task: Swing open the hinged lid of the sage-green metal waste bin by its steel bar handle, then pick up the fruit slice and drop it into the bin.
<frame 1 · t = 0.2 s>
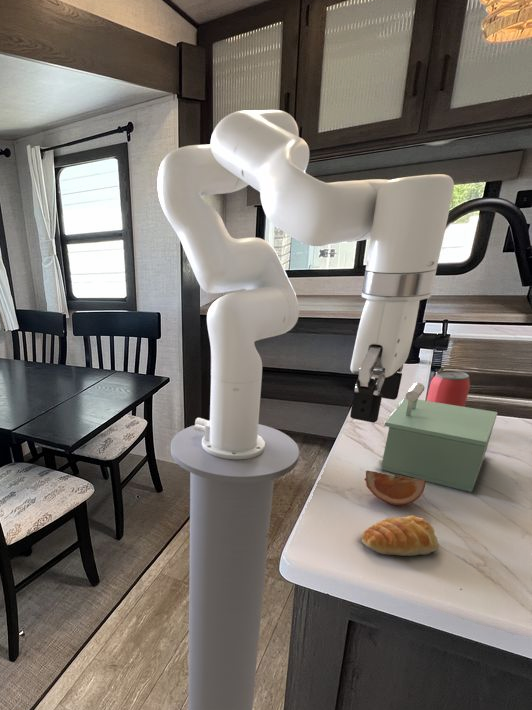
hand: (374, 408, 66), 20 cm above the counter, tool pointing down, fingers open, 9 cm apart
bin: (432, 464, 88), on the counter
beer can: (439, 427, 102), on the counter
pastry: (399, 545, 69), on the counter
fruit slice: (389, 500, 80), on the counter
bin lid: (443, 406, 84), point 12 cm above the counter, hinge at 0.0°
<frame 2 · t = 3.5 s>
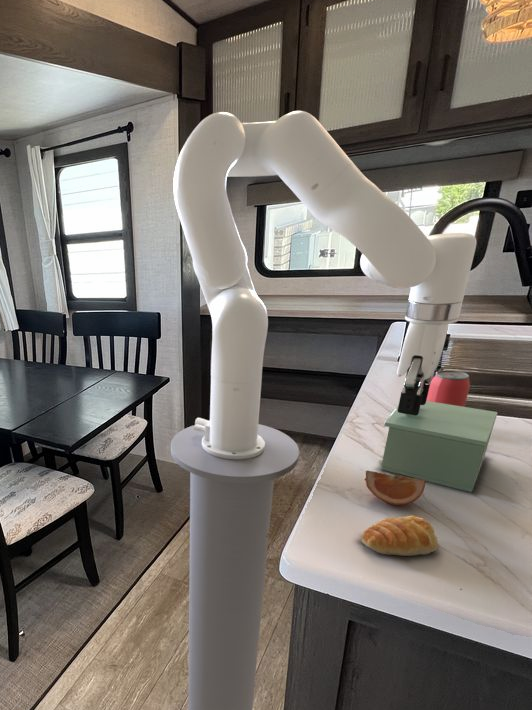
hand: (411, 407, 87), 11 cm above the counter, tool pointing down, fingers closed on bin lid, 5 cm apart
bin lid: (443, 406, 84), point 12 cm above the counter, hinge at 0.0°, touching gripper
everything else where it was.
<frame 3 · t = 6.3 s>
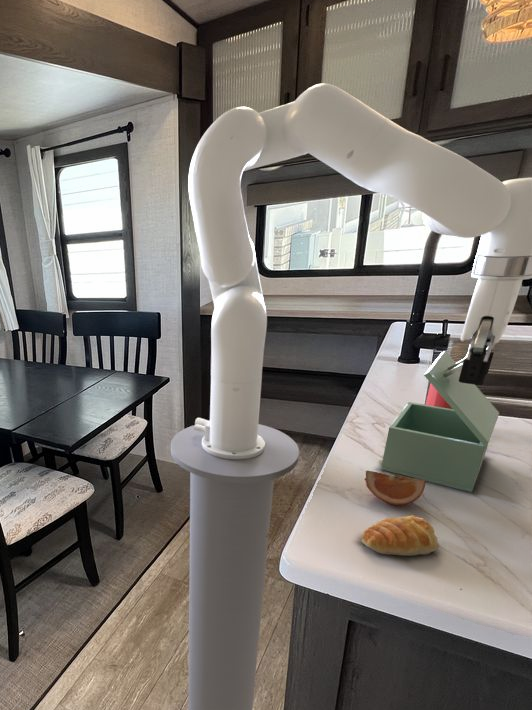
hand: (473, 377, 79), 18 cm above the counter, tool pointing down, fingers closed on bin lid, 5 cm apart
bin lid: (478, 387, 79), point 16 cm above the counter, hinge at 46.3°, touching gripper
everything else where it was.
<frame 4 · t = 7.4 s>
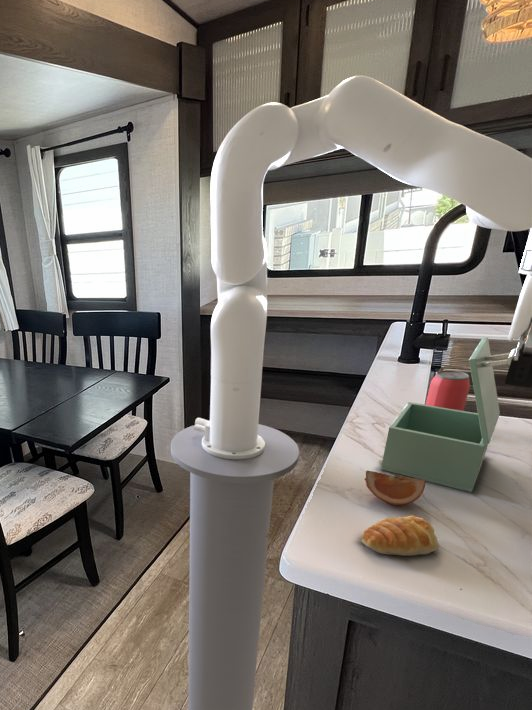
hand: (519, 378, 75), 18 cm above the counter, tool pointing down, fingers closed on bin lid, 5 cm apart
bin lid: (505, 386, 77), point 17 cm above the counter, hinge at 71.7°, touching gripper
everything else where it was.
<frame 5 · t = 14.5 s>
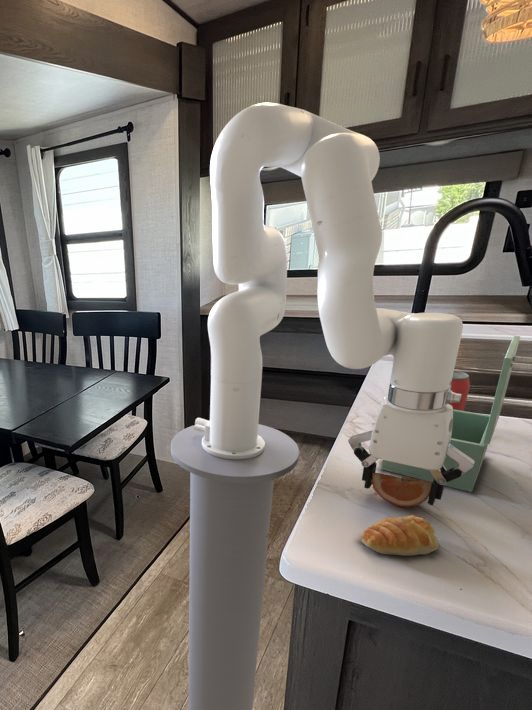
hand: (399, 492, 78), 2 cm above the counter, tool pointing down, fingers closed on fruit slice, 8 cm apart
fruit slice: (396, 501, 79), on the counter, touching gripper
bin lid: (522, 391, 76), point 17 cm above the counter, hinge at 88.3°
everything else where it was.
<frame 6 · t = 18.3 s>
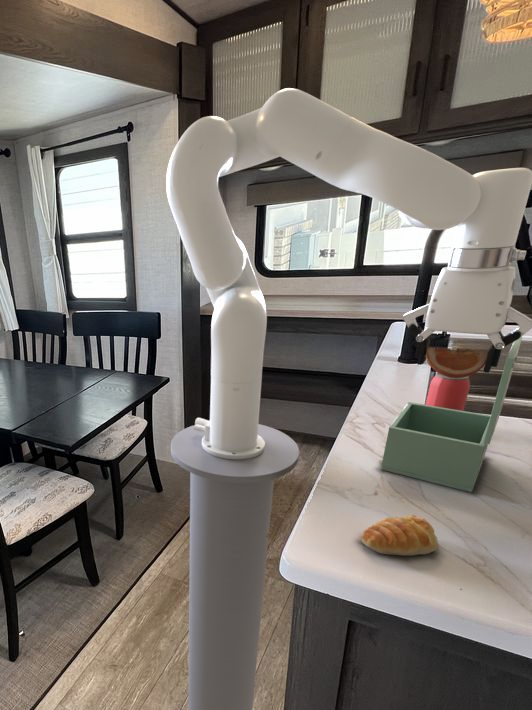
hand: (453, 366, 79), 20 cm above the counter, tool pointing down, fingers closed on fruit slice, 8 cm apart
fruit slice: (449, 376, 80), point 18 cm above the counter, touching gripper
bin lid: (523, 391, 76), point 16 cm above the counter, hinge at 89.4°
everything else where it was.
when the fingers open (13 cm above the counter, at t = 28.4 s): fruit slice drops 10 cm, resting on bin.
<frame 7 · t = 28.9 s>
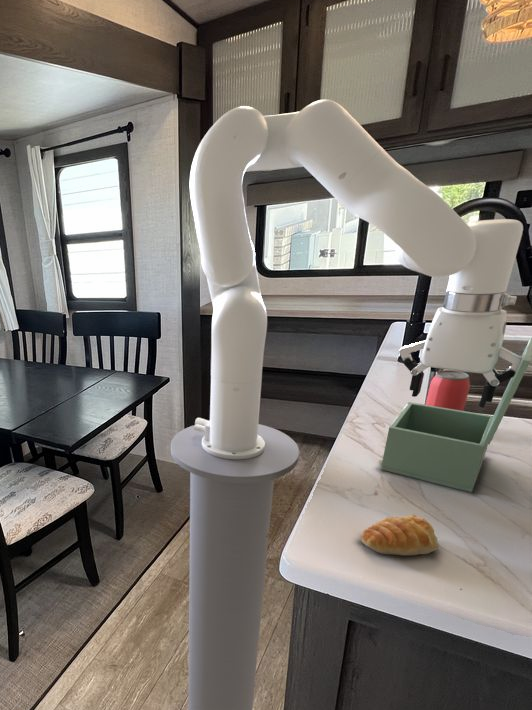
hand: (447, 399, 83), 13 cm above the counter, tool pointing down, fingers open, 9 cm apart
fruit slice: (431, 459, 88), point 1 cm above the counter, touching bin
bin lid: (530, 394, 75), point 16 cm above the counter, hinge at 96.7°, touching gripper
everything else where it was.
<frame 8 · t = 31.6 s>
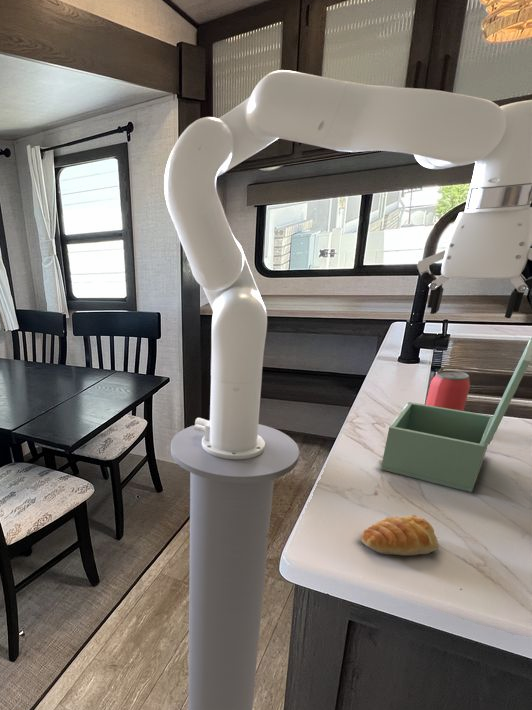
hand: (469, 314, 77), 28 cm above the counter, tool pointing down, fingers open, 9 cm apart
bin lid: (530, 394, 75), point 16 cm above the counter, hinge at 96.7°
everything else where it was.
at the end: bin lid at +97° (first picture: +0°); fruit slice inside the target area in the bin (0.3 cm from its centre), point 0.6 cm above the bin's base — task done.
